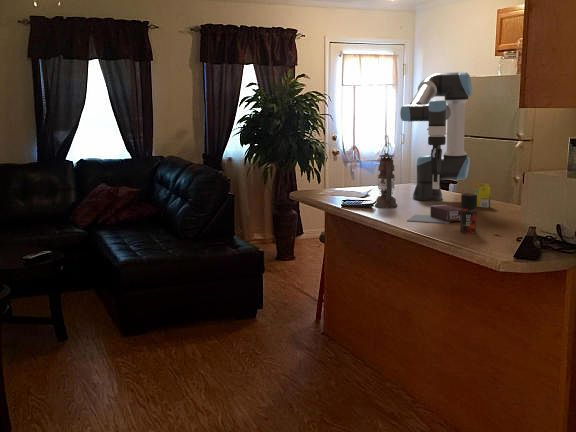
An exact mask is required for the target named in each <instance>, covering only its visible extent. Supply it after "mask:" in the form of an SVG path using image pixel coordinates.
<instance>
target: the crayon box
mask: <svg viewBox="0 0 576 432" xmlns="http://www.w3.org/2000/svg"><path fill="white" fill-rule="evenodd" d="M481 185H482V186H481ZM491 190H492V189H491V186H490V184H489V183H480V182H479V183H477V182H476V183H475V182H474V183H473V194H477V208H488V209H489V208H490V207H491Z"/></svg>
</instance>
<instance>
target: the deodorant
mask: <svg viewBox="0 0 576 432" xmlns="http://www.w3.org/2000/svg"><path fill="white" fill-rule="evenodd" d="M460 200H461V201H460V205H461V206H460V209H461V221H460V226H459V228H460V229H459V232H460V233H461V232H462V234H466V233H472V234H476V232H477V214H478V213H477V212H478V210H477V208H478V207H477V194H474V193H468V192H467V193H462V194H461V198H460Z"/></svg>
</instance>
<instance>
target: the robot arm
mask: <svg viewBox="0 0 576 432" xmlns="http://www.w3.org/2000/svg"><path fill="white" fill-rule="evenodd" d="M472 85H473V84H472V80H471V76H470V74H469V73H468V72H464V71H463V72H462V71H461V72H460V71H458V72H438V73H434V74H430V75H429V76H427V77H426V78H424V79H423V80H422V81H420V83H419V84H418V87H417V92H416V93H415V95H414V96H413V98H412V100H411V101H410V102H409V104H403V105H401V106H400V107H401V108H400V110H399V111H400V112H399V113H400V119H401V121H403V122H409V123H410V122H428V125H427V126H428V127H427V128H426V130H427V131H428V133H427V134H428V137H427V145H428V146H432V149H431V150H430V151H431V152H430V154H425V155H421V156H418V157H417V160H416V185H415V187H414V191H413V194H412V199H414V200H416V201H423V202H424V201H426V202H428V201H429V202H430V201H433V202H434V201H441V200H442V199H443V193H442V190H441V186H440V180H452V181H453V180H454V181H460V180H461V181H463V180H466V179H467V177H468V173H469V171H470V170H469V169H470V165H471V157H469V156H468V153H467V152H466V150H465V126H466V125H465V124H466V123H465V121H466V119H465V118H466V111H465V110H466V103H467V102H468V101H469V97H471V96H472V94H473V86H472ZM434 97H444V100H443V99H442V100H441V99H438V100H434V99H433V98H434ZM432 99H433V100H432ZM445 145H446V151H445V152H444V153H443V149H442V147H441V146H445ZM442 153H443V155H442Z"/></svg>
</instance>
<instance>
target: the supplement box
mask: <svg viewBox="0 0 576 432" xmlns="http://www.w3.org/2000/svg"><path fill="white" fill-rule="evenodd" d="M429 208H430V209H429V211H430V213H429V215H430V216H433V217H436V218H439V219H442V220H445V221H448V222H450V223H452V222H461V207H460V208H459V207H456V206H453V205H448V204H439V205H438V204H437V205H430V207H429Z"/></svg>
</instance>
